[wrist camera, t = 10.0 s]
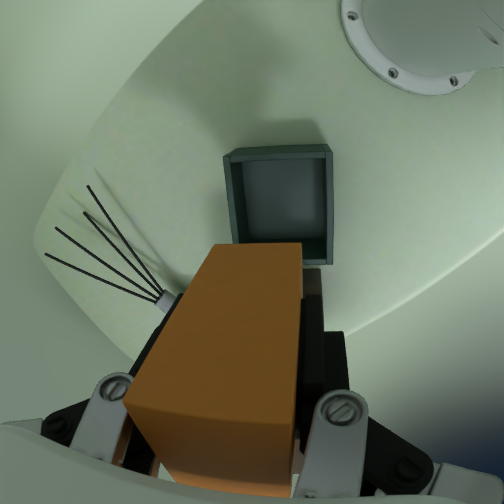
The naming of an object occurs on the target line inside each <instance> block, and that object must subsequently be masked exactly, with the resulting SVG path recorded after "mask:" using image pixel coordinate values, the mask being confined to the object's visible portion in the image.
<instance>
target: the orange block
mask: <svg viewBox="0 0 504 504" xmlns="http://www.w3.org/2000/svg"><path fill="white" fill-rule="evenodd" d="M301 299H303V274H302V243H251V244H215V245H214V246H213V248H212V249H211V251H210V252H209V254H208V256H207V257H206V259H205V260H204V262H203V264H202V265H201V267H200V268H199V270H198V272H197V273H196V275H195V277H194V278H193V280H192V281H191V283H190V285H189V286H188V288H187V290H186V291H185V293H184V295H183V296H182V298H181V300H180V301H179V303H178V305H177V306H176V308H175V310H174V311H173V313H172V315H171V316H170V318H169V320H168V321H167V323H166V325H165V326H164V328H163V330H162V331H161V333H160V335H159V337H158V338H157V340H156V342H155V343H154V345H153V347H152V349H151V350H150V352H149V354H148V355H147V357H146V359H145V361H144V362H143V364H142V366H141V368H140V369H139V371H138V373H137V375H136V376H135V378H134V380H133V382H132V383H131V385H130V387H129V389H128V391H127V392H126V394H125V396H124V398H123V400H122V403H123V405H124V406H125V408H126V410H127V411H128V413H129V415H130V416H131V418H132V420H133V421H134V423H135V424H136V426H137V428H138V429H139V431H140V432H141V434H142V435H143V437H144V438H145V440H146V441H147V443H148V444H149V446H150V447H151V449H152V450H153V452H154V453H155V454H156V456H157V457H158V459H159V460H160V461H161V463H162V464H163V466H164V467H165V468H166V470H167V471H168V472H169V474H170V475H171V476H172V478H173V479H174V480H175V481H176V483H180V484H184V485H189V486H194V487H199V488H205V489H210V490H216V491H223V492H230V493H237V494H246V495H256V496H267V497H283V498H289V497H290V495H291V486H292V475H293V467H294V457H295V446H296V439H295V433H296V384H297V366H298V350H299V332H300V311H301Z"/></svg>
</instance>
